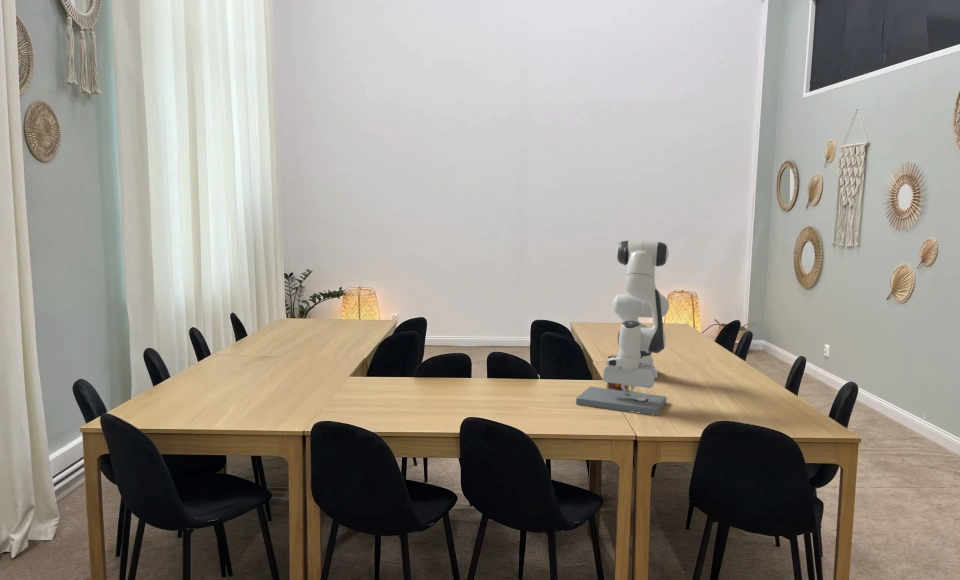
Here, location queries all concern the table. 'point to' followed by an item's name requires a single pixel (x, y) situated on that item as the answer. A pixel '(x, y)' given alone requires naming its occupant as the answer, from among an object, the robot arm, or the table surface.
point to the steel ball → (640, 398)
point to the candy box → (614, 385)
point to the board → (620, 400)
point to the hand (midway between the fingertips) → (627, 395)
